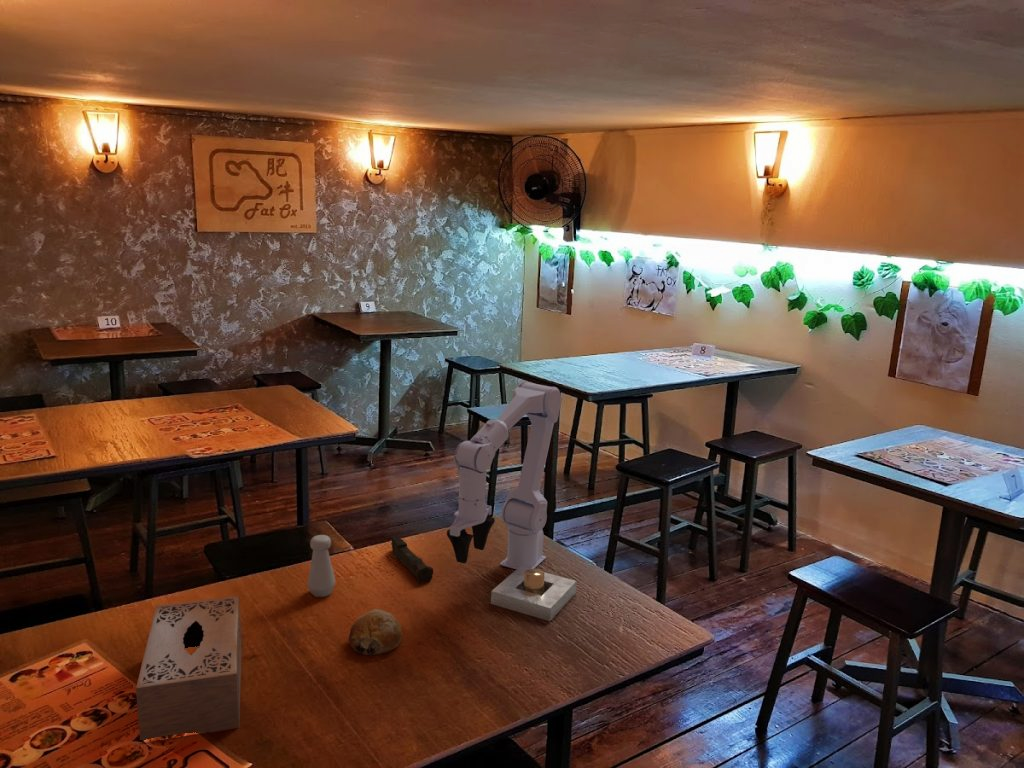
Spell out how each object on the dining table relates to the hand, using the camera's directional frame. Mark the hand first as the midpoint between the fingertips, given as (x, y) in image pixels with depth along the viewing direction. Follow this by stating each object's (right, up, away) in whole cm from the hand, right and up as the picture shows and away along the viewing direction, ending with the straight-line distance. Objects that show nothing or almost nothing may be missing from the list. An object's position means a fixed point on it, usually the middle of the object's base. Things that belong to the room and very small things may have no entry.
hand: (470, 555), depth 164 cm
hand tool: (-16, -6, +14) cm, 22 cm away
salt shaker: (-33, -8, 0) cm, 34 cm away
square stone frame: (+14, -10, +2) cm, 17 cm away
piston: (+14, -10, +2) cm, 17 cm away
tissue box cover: (-46, -16, -33) cm, 59 cm away
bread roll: (-18, -13, -18) cm, 28 cm away
